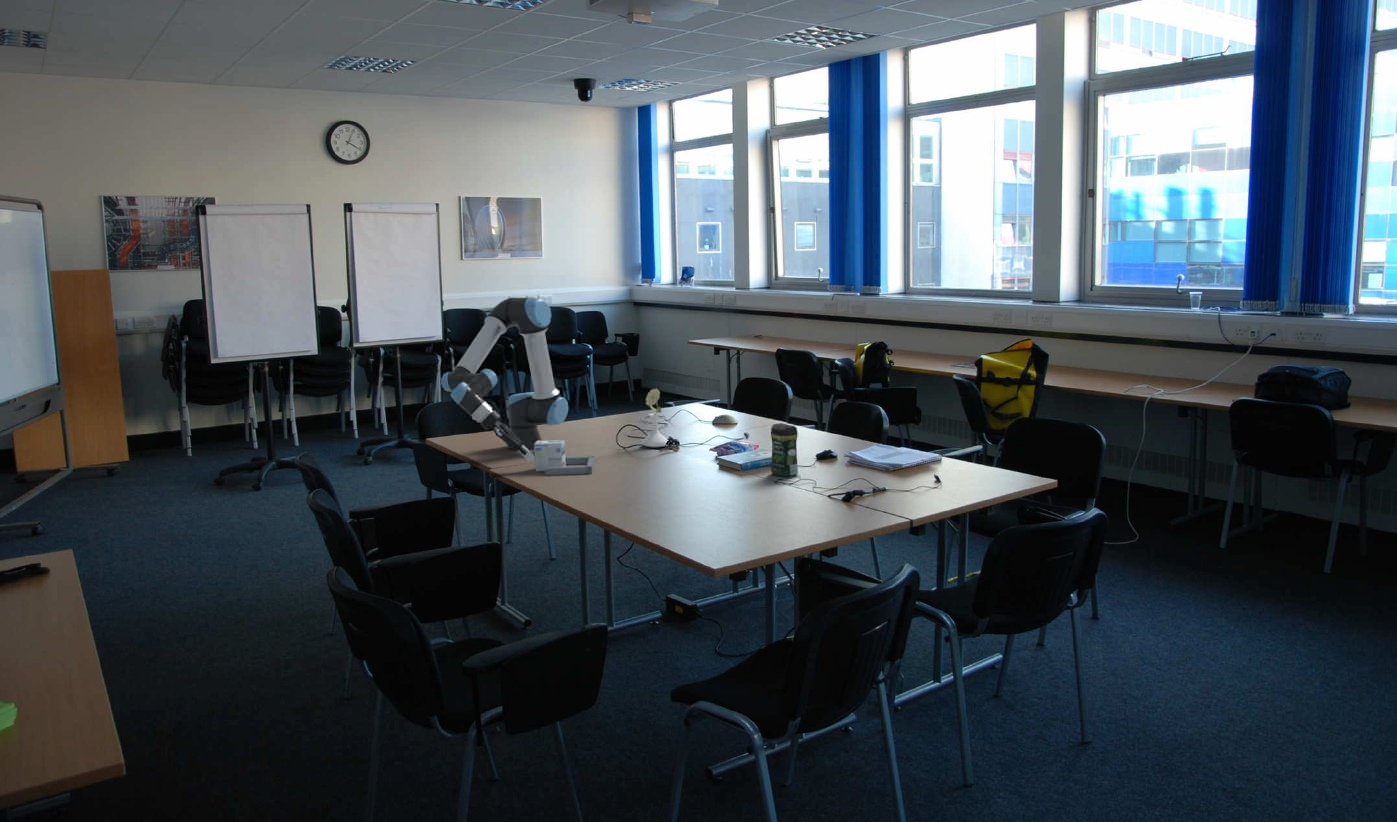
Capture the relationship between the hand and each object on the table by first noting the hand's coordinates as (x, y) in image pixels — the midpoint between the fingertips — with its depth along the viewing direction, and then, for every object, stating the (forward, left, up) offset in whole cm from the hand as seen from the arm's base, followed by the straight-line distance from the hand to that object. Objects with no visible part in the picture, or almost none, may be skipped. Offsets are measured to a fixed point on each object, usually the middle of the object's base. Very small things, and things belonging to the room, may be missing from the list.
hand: (532, 459), depth 366 cm
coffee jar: (+21, +93, -4) cm, 95 cm away
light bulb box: (-1, +6, -4) cm, 8 cm away
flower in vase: (-39, +47, -4) cm, 61 cm away
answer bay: (-1, +14, -4) cm, 14 cm away
